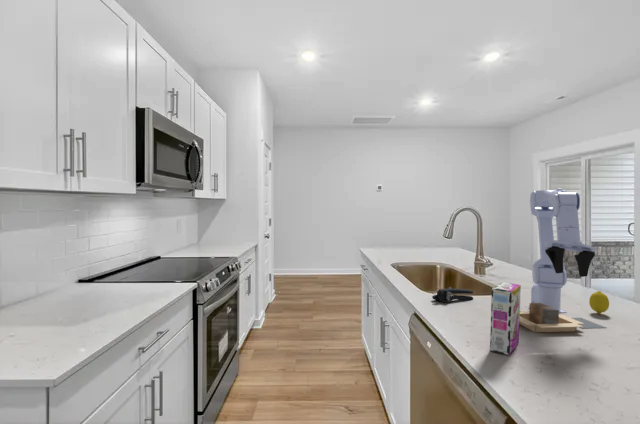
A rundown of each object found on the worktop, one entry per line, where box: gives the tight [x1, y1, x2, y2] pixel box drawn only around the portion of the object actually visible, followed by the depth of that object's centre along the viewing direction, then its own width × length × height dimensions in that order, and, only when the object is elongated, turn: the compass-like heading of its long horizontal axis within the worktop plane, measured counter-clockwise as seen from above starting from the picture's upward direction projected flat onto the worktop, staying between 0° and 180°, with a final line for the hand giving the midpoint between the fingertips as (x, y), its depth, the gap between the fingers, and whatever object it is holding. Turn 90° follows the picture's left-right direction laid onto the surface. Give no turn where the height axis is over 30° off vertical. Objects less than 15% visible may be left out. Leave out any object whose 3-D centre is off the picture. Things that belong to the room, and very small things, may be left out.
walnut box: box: [528, 302, 559, 324], centre depth 115 cm, size 8×4×6 cm, turn 5°
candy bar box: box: [489, 282, 522, 356], centre depth 98 cm, size 11×5×16 cm, turn 141°
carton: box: [519, 310, 584, 333], centre depth 115 cm, size 16×18×2 cm
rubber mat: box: [571, 317, 607, 329], centre depth 118 cm, size 10×8×1 cm
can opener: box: [432, 287, 474, 304], centre depth 146 cm, size 18×7×6 cm, turn 108°
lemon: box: [588, 290, 610, 315], centre depth 129 cm, size 6×6×8 cm
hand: (571, 274), depth 108 cm, fingers open, 7 cm apart
